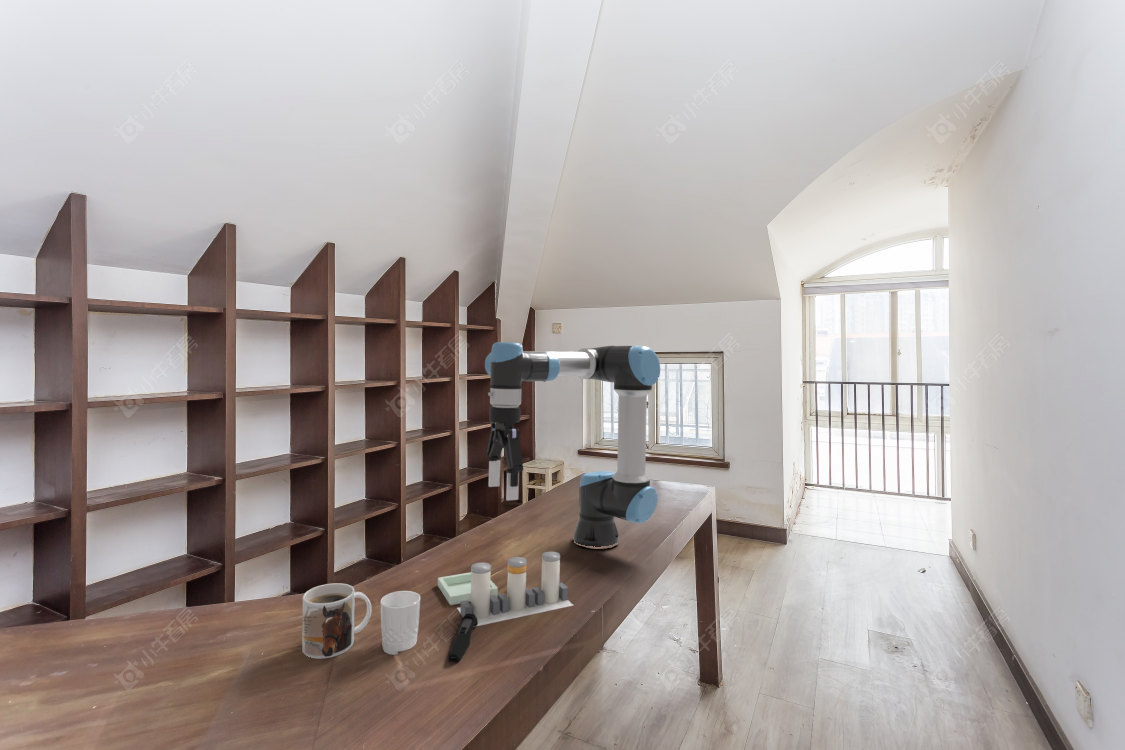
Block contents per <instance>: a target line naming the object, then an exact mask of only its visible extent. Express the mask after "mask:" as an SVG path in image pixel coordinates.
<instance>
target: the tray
mask: <svg viewBox="0 0 1125 750" xmlns="http://www.w3.org/2000/svg"><path fill="white" fill-rule="evenodd" d="M437 587H438V588H439V590H440V591H441V593H442V594H443V596H444V598H445V600H446V601H447V602H448V604H449V606H454V605H461V601H465V600H467V601H468V602H469V603H471V571H470V572H466V573H465V572H464V573H459V574H452V575H448V576H447V575H446V576H441V577H438V578H437ZM498 594H499V587H498V586H497V585H496V584H495V583H494V582H493V581H492V579H490V596H491V595H495V596H496V597H497V596H498Z"/></svg>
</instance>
